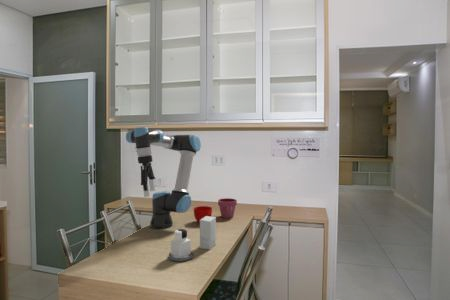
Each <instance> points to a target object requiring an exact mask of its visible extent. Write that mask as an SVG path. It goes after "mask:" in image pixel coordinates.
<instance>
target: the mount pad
mask: <svg viewBox="0 0 450 300" xmlns="http://www.w3.org/2000/svg"><path fill="white" fill-rule="evenodd" d="M193 258H194V253H193V251H191V254H189V255H187V256H184V257H182V258H179V257H176V256H174V255H171V252H169V254H168V260H169V261H171V262H173V263H185V262H188V261H191V260H193Z"/></svg>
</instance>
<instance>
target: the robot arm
mask: <svg viewBox="0 0 450 300" xmlns="http://www.w3.org/2000/svg"><path fill="white" fill-rule="evenodd" d="M125 140H126V142H127V143H130V144H135V147H136V148H135V152H136V156H137V163H138V164H141V165H140V186H142V189H143V197H145V198H146V197H147V198H148V197H151V194H150V192H153V194H152V200H151V201H152V204H151V205H152V207H151V208H152V215H151V217H150V218H151V219H150V223H149V227H150V228H151V229H158V230H159V229H160V230H161V229H162V230H163V229H167V228H170V227H173V226H174V225H173V224H174V222H173V219H172V215H171V213H178V214H181V213H182V214H183V213H184V214H185V213H186V212H188V211H189V209H190V207H191V205H192V197H191V196H190V193H189V191H188V189H189V183H190V177H191V171H192V167H193V160H194V157H195V156H196V155H197V152H199V151H200V150H201V148H202V147H201V143H202V142H201V140H200V138H199V136H198V135H196V134H175V135H174V134H173V135H172V134H171V135H169V134H166V135H164V133H163V131H162V130H161V129H149V128H148V127H147V126H140V127H135V128H134V129H132V130H128V131H127V132H126V133H125ZM151 146H154V147H161V148H163V149H166V150H171V151H177V152H179V154H180V158H179V163H178V169H177V175H176V179H175V184H174V188H173V189H172V190H171V191H169V190H163V191H157V192H155V191H156V186H155V179H156V177H155V174H154V170H153V167H152V162H153V156H152V153H153V152H152V147H151Z"/></svg>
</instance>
